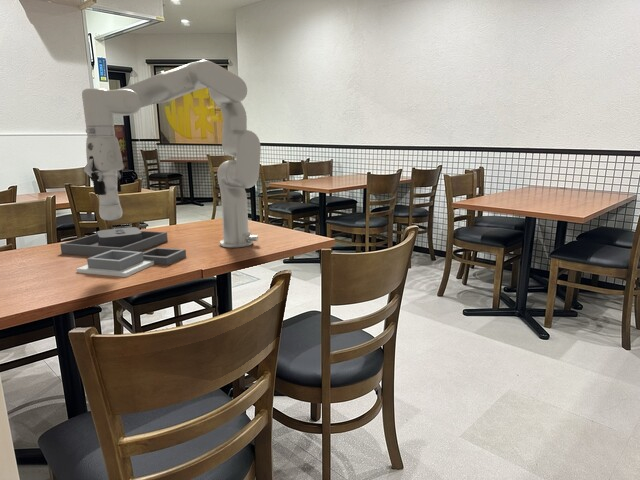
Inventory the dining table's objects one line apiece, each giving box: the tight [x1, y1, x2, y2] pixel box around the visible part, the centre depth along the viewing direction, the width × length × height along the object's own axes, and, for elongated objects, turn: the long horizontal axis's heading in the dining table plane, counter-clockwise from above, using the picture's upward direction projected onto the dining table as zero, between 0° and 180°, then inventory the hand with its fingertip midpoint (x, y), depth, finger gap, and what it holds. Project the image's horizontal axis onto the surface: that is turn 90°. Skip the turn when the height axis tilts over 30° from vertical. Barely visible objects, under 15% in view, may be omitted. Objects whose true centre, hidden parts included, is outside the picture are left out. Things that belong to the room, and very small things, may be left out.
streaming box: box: [96, 226, 142, 248], centre depth 168 cm, size 14×14×5 cm
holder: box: [142, 246, 187, 266], centre depth 150 cm, size 12×11×2 cm
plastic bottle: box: [96, 169, 123, 222], centre depth 135 cm, size 6×7×20 cm
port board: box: [76, 250, 155, 278], centre depth 141 cm, size 18×14×4 cm
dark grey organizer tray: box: [59, 230, 169, 257], centre depth 167 cm, size 26×26×4 cm
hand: (108, 192), depth 135 cm, fingers closed on plastic bottle, 6 cm apart
